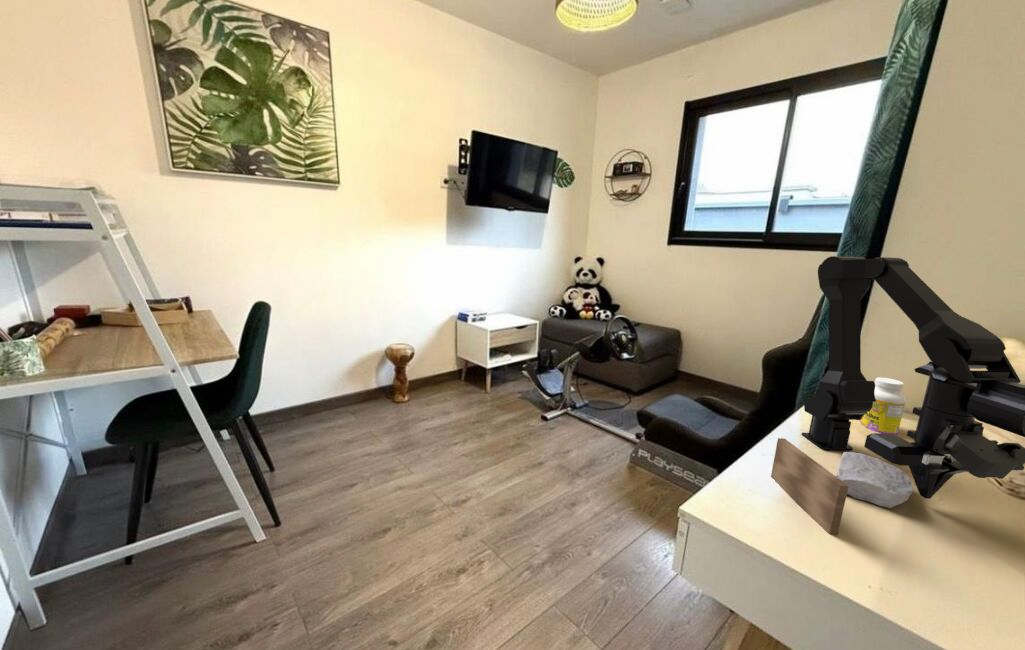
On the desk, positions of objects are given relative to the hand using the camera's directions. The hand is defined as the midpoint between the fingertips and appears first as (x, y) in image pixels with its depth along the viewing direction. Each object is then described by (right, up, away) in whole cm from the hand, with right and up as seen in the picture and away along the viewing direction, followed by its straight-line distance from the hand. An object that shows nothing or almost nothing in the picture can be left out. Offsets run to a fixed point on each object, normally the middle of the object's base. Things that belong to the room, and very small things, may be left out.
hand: (924, 497), depth 65 cm
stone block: (-2, -1, +1) cm, 2 cm away
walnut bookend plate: (-21, -1, 0) cm, 21 cm away
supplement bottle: (+17, +3, +27) cm, 32 cm away
